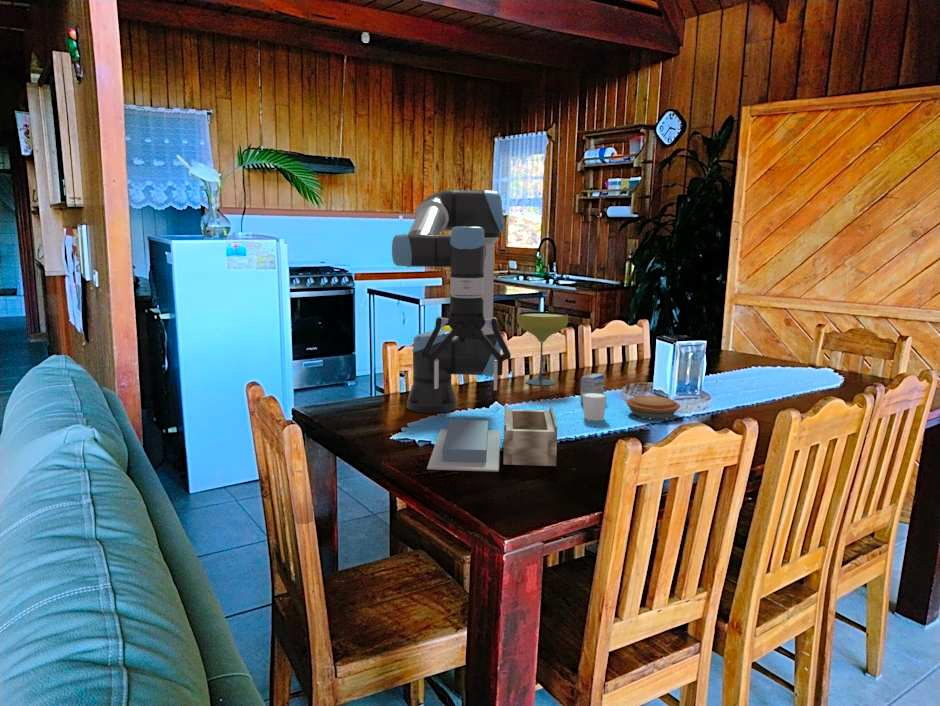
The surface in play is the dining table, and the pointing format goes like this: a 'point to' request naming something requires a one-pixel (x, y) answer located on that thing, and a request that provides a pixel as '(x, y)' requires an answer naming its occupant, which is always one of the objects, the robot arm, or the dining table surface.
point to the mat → (490, 464)
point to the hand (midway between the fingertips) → (465, 388)
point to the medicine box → (592, 384)
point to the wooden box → (530, 437)
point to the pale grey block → (466, 441)
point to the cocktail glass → (542, 333)
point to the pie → (652, 407)
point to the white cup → (594, 406)
